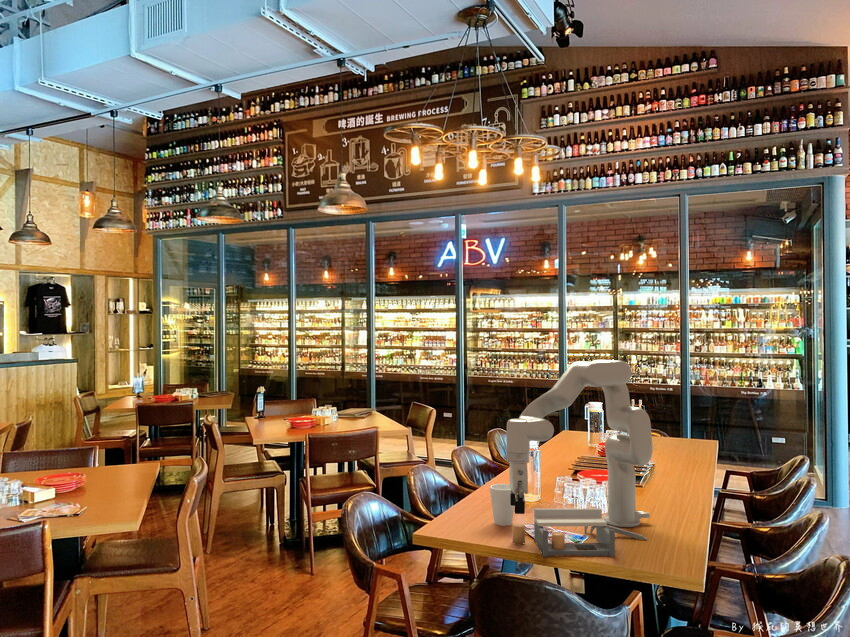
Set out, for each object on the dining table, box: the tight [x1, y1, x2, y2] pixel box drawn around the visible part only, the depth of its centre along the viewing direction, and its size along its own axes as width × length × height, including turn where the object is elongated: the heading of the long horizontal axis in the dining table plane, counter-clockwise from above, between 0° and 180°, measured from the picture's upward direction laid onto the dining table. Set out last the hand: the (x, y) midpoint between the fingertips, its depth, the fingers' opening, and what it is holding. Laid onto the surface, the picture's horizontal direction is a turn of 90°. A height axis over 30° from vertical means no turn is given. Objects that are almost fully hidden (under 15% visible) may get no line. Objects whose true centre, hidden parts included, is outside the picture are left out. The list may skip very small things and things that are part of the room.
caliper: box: [583, 524, 648, 541], centre depth 212 cm, size 20×1×6 cm, turn 67°
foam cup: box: [489, 483, 515, 527], centre depth 227 cm, size 10×9×13 cm
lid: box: [533, 507, 608, 527], centre depth 205 cm, size 22×7×4 cm, turn 90°
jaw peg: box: [512, 523, 526, 545], centre depth 206 cm, size 4×4×6 cm
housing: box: [533, 520, 616, 558], centre depth 201 cm, size 22×15×8 cm
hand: (517, 509), depth 206 cm, fingers open, 9 cm apart
